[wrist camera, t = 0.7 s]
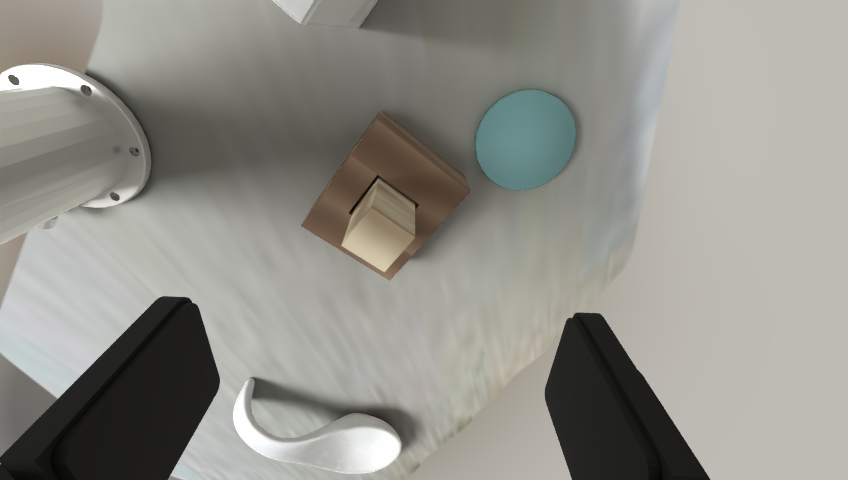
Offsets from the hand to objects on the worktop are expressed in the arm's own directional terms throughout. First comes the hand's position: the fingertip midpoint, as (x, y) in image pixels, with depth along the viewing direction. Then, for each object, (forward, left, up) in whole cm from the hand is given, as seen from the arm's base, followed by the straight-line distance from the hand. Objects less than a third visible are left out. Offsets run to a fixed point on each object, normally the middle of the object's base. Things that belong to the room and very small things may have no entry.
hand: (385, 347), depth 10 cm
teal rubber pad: (+5, -9, -28) cm, 30 cm away
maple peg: (-7, -2, -28) cm, 28 cm away
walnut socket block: (-7, -2, -28) cm, 28 cm away
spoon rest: (-40, -15, -28) cm, 51 cm away
